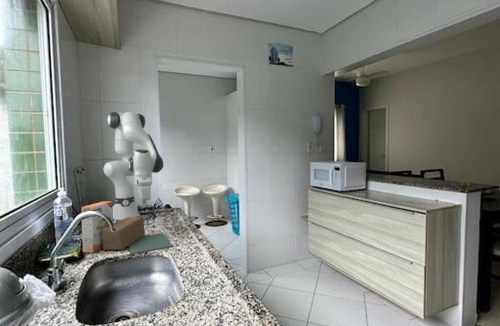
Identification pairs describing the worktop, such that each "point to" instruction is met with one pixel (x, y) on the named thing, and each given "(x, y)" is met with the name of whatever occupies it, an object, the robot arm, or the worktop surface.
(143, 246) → the mat
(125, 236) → the wooden block
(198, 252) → the worktop surface
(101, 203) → the cracker box
